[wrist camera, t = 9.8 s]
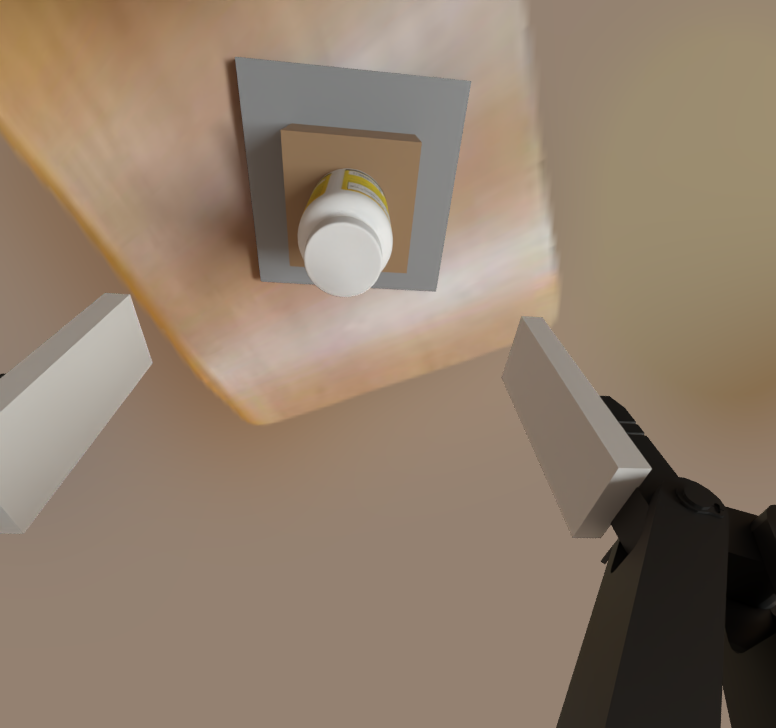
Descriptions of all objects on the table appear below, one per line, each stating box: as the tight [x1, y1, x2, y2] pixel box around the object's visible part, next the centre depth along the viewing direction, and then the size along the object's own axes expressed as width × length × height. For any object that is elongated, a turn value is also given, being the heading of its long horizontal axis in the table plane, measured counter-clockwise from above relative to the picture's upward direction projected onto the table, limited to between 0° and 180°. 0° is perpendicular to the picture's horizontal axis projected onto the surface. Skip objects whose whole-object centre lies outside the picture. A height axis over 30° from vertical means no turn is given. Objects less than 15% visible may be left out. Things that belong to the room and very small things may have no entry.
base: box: [235, 57, 471, 292], centre depth 30 cm, size 16×16×6 cm
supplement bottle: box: [298, 168, 393, 297], centre depth 24 cm, size 5×5×10 cm
